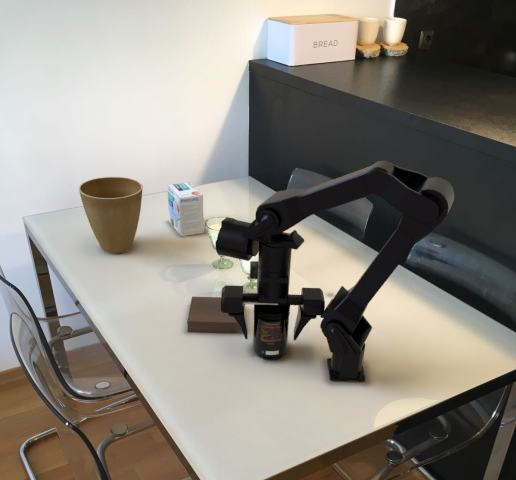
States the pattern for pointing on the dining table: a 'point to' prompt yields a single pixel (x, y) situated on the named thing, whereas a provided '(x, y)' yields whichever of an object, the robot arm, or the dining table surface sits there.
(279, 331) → the supplement container
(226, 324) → the walnut block
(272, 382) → the dining table surface
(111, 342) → the dining table surface
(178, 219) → the light bulb box
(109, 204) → the plant pot
